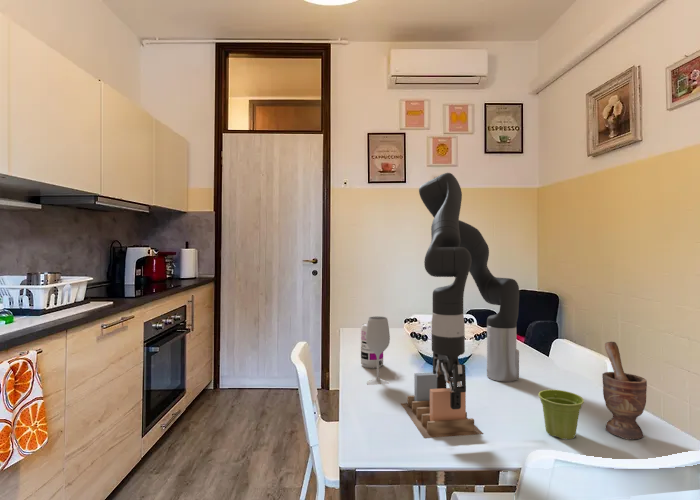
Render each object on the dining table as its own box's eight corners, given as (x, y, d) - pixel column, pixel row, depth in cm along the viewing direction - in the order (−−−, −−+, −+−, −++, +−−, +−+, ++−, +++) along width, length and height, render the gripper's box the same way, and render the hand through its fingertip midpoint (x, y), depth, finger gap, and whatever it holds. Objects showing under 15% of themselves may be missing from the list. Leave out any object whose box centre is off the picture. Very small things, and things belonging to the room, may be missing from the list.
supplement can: (385, 363, 152) (385, 323, 152) (379, 369, 144) (379, 327, 144) (364, 361, 154) (364, 322, 154) (358, 367, 147) (358, 326, 147)
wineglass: (388, 388, 125) (388, 320, 125) (364, 386, 126) (364, 319, 126) (391, 380, 132) (391, 316, 132) (368, 379, 134) (367, 315, 133)
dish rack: (449, 405, 112) (449, 391, 111) (483, 439, 92) (483, 422, 92) (400, 407, 110) (400, 393, 110) (424, 443, 90) (424, 426, 90)
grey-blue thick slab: (443, 405, 108) (443, 371, 108) (446, 408, 106) (446, 374, 106) (414, 407, 107) (414, 373, 107) (416, 410, 105) (416, 375, 105)
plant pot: (593, 442, 90) (593, 403, 90) (553, 444, 89) (553, 405, 89) (567, 424, 99) (567, 389, 99) (530, 425, 99) (530, 390, 99)
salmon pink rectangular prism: (462, 425, 96) (462, 387, 96) (465, 428, 94) (465, 390, 94) (429, 427, 95) (429, 389, 95) (432, 431, 93) (432, 392, 93)
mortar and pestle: (584, 420, 101) (584, 341, 101) (613, 418, 103) (614, 339, 103) (623, 442, 90) (623, 352, 90) (656, 439, 92) (656, 351, 91)
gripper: (476, 338, 88) (477, 412, 88) (451, 325, 102) (451, 389, 102) (443, 339, 87) (444, 415, 87) (422, 326, 101) (423, 391, 101)
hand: (448, 401), depth 95 cm, fingers open, 8 cm apart
